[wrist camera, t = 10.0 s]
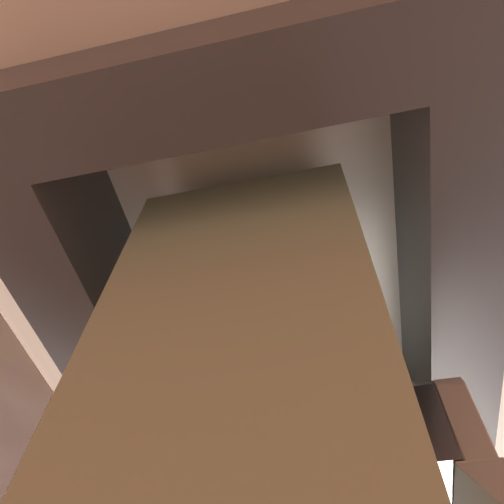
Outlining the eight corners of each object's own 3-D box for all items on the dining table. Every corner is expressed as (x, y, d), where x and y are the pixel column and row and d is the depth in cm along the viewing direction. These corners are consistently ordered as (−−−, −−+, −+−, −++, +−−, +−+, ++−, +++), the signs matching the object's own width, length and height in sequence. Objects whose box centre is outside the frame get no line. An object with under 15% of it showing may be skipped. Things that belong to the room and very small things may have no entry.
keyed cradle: (519, 462, 19) (580, 588, 15) (152, 495, 21) (128, 611, 18) (692, -551, 6) (1311, -1270, 3) (-270, -201, 9) (-687, -314, 5)
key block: (340, 163, 9) (467, 554, 3) (370, 419, 13) (449, 787, 8) (147, 198, 10) (-40, 586, 4) (235, 433, 14) (210, 786, 8)
